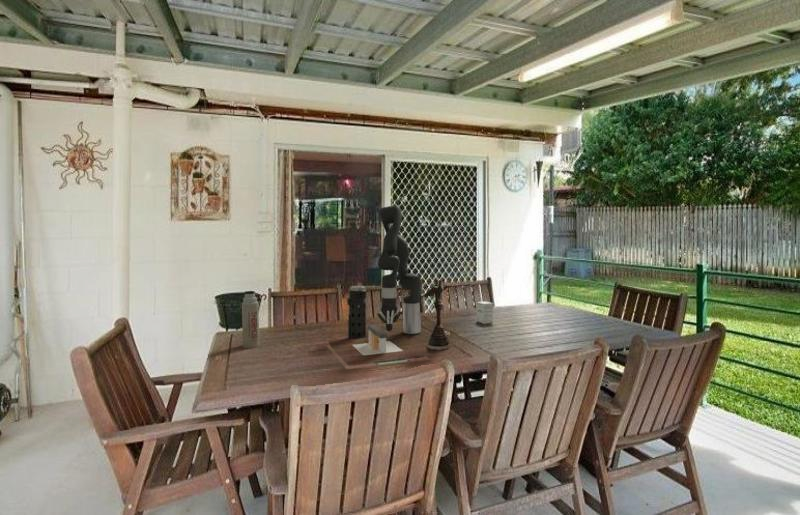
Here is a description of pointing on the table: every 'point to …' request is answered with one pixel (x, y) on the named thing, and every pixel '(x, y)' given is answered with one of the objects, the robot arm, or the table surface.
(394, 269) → the robot arm
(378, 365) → the mat
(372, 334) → the orange block
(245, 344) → the thermos bottle
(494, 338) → the table surface
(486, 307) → the grey cylindrical canister
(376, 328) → the strap
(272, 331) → the table surface
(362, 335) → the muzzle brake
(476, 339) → the table surface
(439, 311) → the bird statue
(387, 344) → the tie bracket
